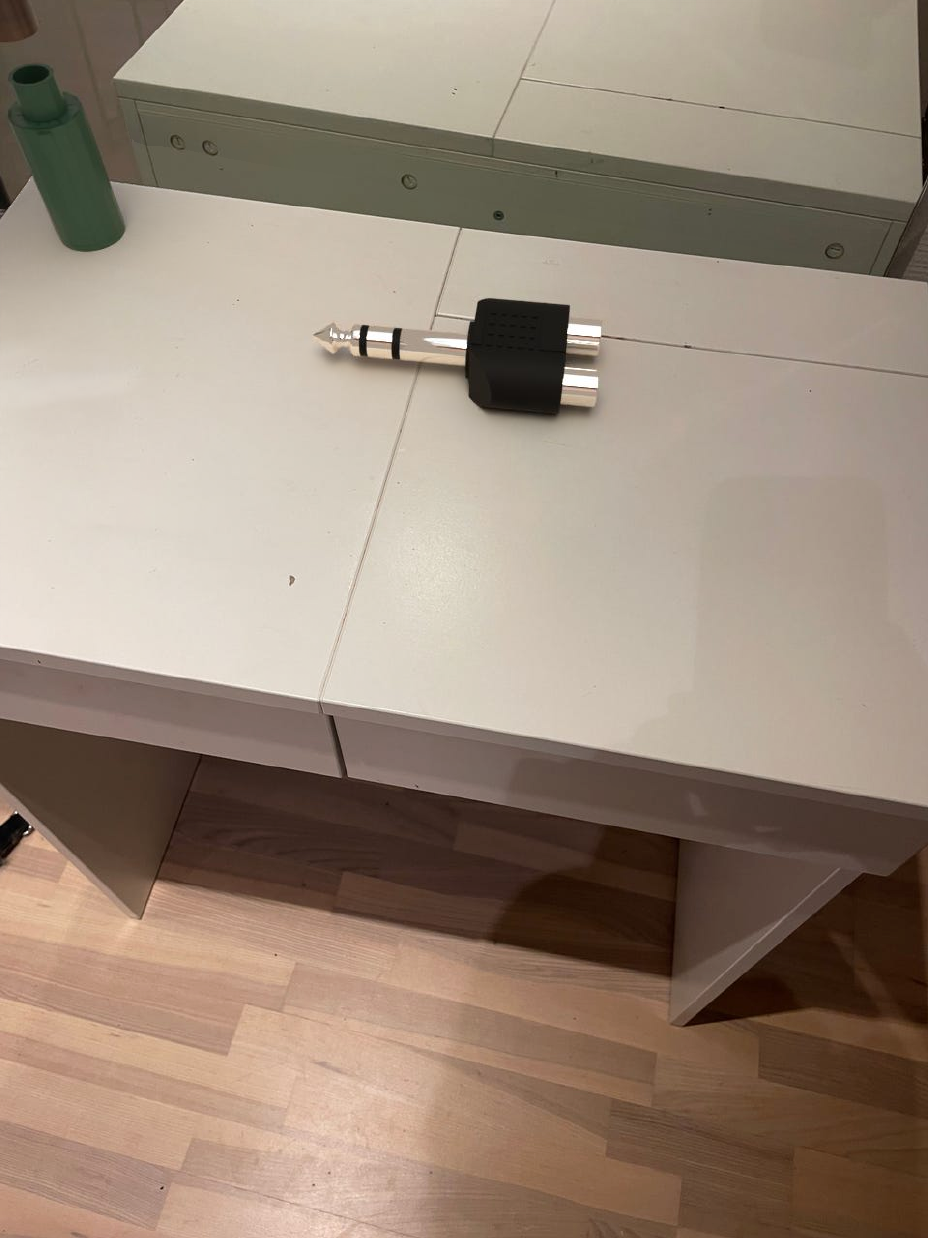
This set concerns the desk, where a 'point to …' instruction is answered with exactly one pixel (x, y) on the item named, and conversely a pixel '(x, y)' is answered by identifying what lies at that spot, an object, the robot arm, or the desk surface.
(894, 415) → the desk surface
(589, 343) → the audio adapter
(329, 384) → the desk surface
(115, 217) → the bottle
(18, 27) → the brown cylinder
